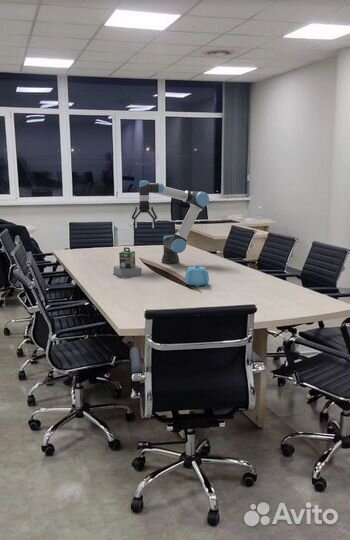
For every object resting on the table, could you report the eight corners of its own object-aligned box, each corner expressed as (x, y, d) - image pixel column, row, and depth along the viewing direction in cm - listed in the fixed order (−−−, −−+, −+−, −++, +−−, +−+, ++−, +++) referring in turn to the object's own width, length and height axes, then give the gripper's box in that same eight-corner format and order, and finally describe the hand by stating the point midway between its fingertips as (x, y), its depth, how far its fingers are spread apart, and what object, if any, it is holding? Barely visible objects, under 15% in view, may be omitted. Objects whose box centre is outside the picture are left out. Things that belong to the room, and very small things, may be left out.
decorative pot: (183, 287, 324) (183, 267, 322) (185, 281, 340) (185, 262, 337) (208, 287, 323) (208, 267, 320) (209, 282, 338) (209, 263, 336)
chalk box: (135, 266, 368) (135, 246, 365) (130, 268, 359) (130, 248, 357) (124, 265, 371) (124, 246, 368) (119, 267, 362) (118, 247, 360)
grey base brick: (113, 274, 370) (113, 266, 368) (133, 272, 377) (133, 264, 375) (121, 277, 355) (120, 269, 354) (141, 276, 362) (141, 268, 361)
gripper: (127, 200, 382) (128, 228, 386) (159, 200, 379) (159, 228, 383) (129, 200, 389) (129, 227, 393) (160, 200, 386) (160, 227, 390)
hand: (144, 227), depth 388 cm, fingers open, 13 cm apart
